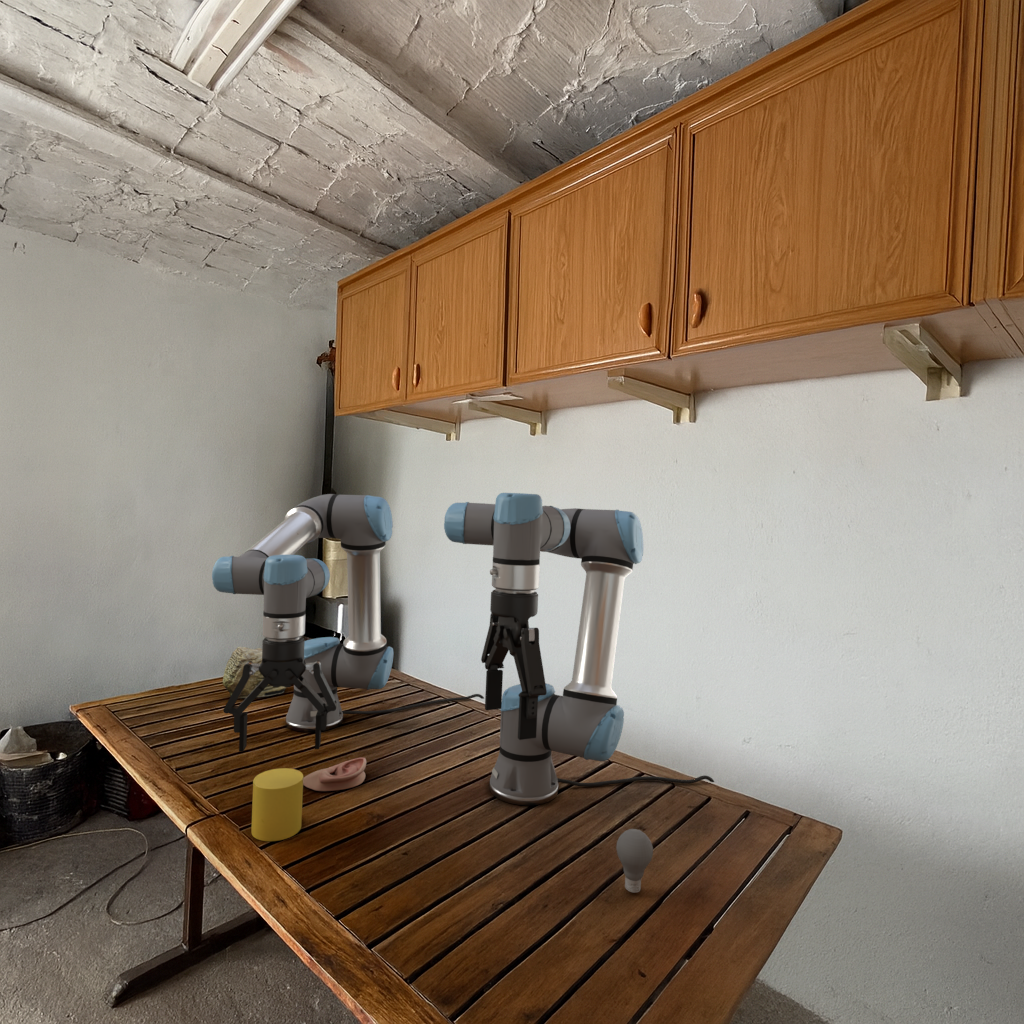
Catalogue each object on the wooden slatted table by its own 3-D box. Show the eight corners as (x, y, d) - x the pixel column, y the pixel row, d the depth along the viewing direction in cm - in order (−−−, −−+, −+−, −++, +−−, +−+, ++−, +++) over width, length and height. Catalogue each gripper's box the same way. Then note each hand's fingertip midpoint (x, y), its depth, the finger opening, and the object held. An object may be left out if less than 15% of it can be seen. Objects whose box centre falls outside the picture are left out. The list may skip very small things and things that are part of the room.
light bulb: (610, 879, 108) (613, 822, 108) (644, 879, 109) (647, 822, 109) (619, 902, 102) (622, 840, 102) (655, 901, 103) (658, 840, 103)
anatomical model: (293, 769, 137) (319, 749, 148) (292, 787, 137) (319, 766, 148) (350, 777, 134) (372, 756, 145) (349, 796, 134) (372, 773, 146)
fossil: (218, 695, 195) (220, 647, 195) (278, 685, 208) (279, 640, 207) (228, 703, 189) (230, 653, 188) (289, 692, 201) (290, 645, 201)
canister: (259, 846, 114) (261, 793, 114) (245, 825, 121) (247, 774, 121) (308, 832, 120) (310, 781, 119) (292, 812, 127) (294, 764, 126)
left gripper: (207, 642, 114) (204, 758, 115) (350, 641, 118) (346, 753, 119) (218, 632, 121) (216, 741, 122) (352, 632, 126) (349, 737, 127)
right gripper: (466, 579, 110) (461, 700, 111) (526, 603, 88) (519, 755, 88) (505, 579, 114) (500, 696, 114) (573, 602, 91) (567, 749, 91)
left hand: (280, 747), depth 121 cm, fingers open, 13 cm apart
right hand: (508, 722), depth 101 cm, fingers open, 13 cm apart
